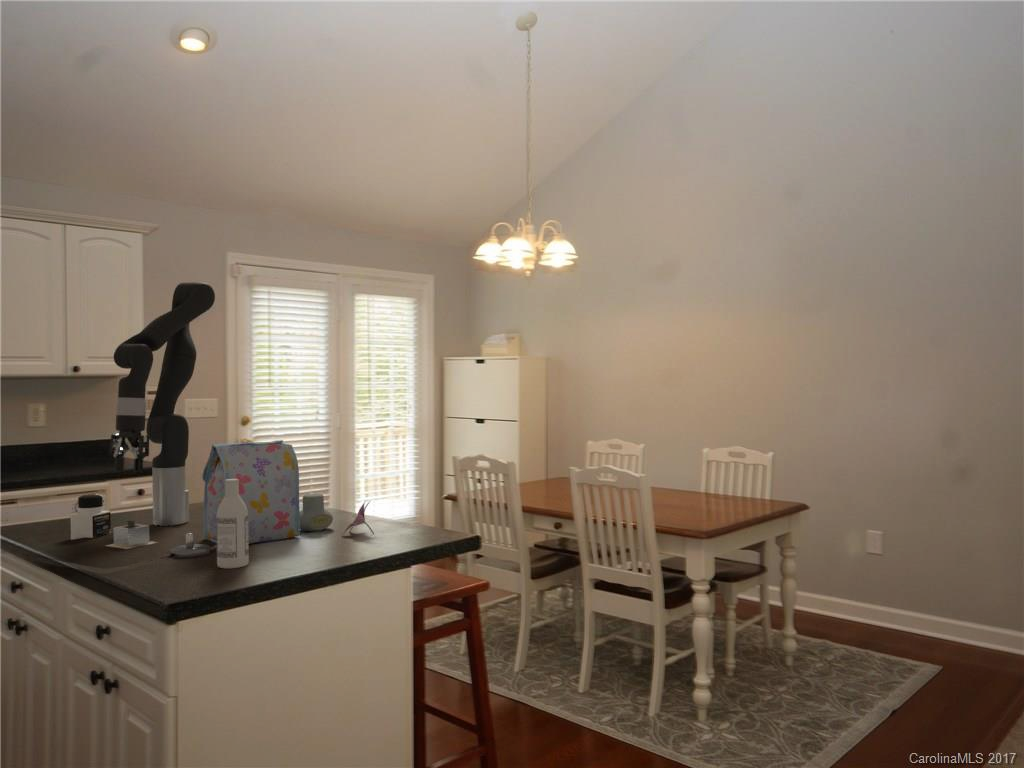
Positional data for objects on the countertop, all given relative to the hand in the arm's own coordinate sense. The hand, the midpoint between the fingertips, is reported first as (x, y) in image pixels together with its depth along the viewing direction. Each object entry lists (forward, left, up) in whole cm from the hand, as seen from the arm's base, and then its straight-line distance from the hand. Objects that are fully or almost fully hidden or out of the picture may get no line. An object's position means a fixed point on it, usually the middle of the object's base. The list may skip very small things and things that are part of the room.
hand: (128, 471), depth 227 cm
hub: (+10, +38, -18) cm, 43 cm away
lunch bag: (-10, +38, -18) cm, 43 cm away
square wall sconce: (+12, +18, -17) cm, 27 cm away
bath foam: (+14, +58, -18) cm, 62 cm away
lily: (-29, +59, -18) cm, 68 cm away
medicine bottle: (+9, -4, -18) cm, 20 cm away
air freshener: (-28, +43, -18) cm, 54 cm away
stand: (+12, +18, -18) cm, 28 cm away
